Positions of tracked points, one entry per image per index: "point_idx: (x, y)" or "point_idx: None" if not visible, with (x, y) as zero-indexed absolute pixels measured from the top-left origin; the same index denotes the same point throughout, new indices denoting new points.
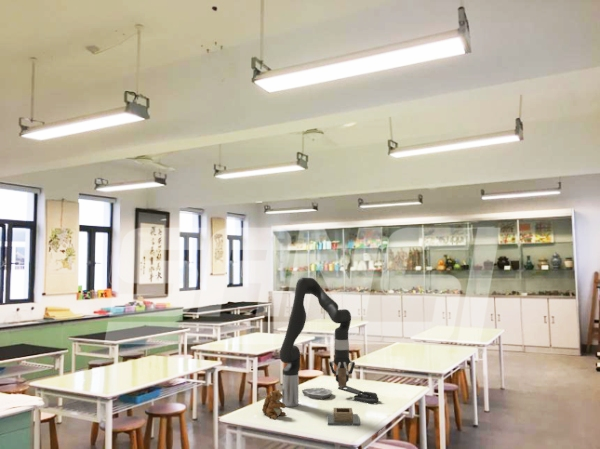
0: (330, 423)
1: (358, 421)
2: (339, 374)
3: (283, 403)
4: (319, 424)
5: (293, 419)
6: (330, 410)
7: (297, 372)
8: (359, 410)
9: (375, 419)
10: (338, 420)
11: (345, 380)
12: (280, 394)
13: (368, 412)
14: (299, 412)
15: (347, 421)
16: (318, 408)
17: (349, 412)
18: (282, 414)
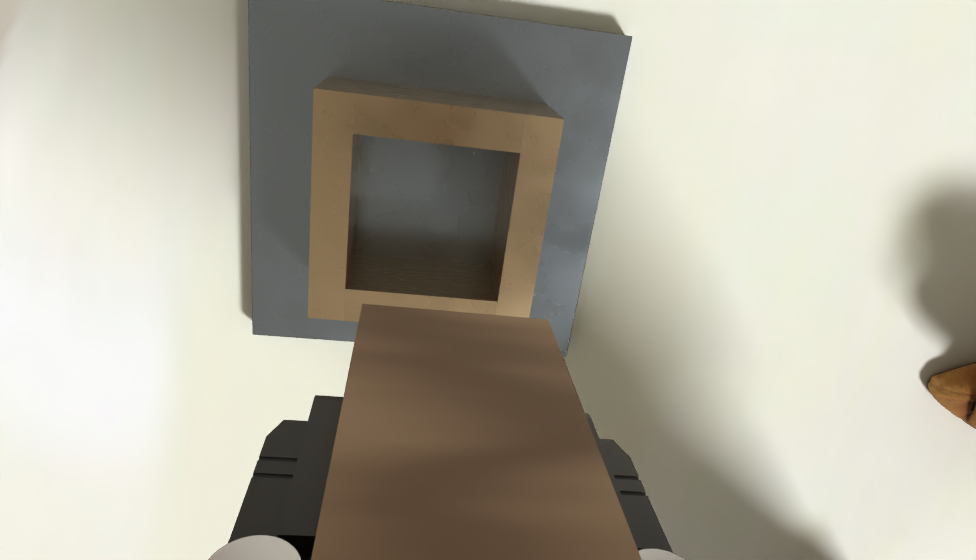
0: (601, 33)
1: (262, 62)
2: (585, 520)
3: None
4: (707, 71)
5: (903, 256)
6: None
7: None
8: (224, 487)
9: (57, 200)
10: (498, 99)
11: (369, 379)
12: None
13: (134, 430)
14: (785, 446)
15: (395, 74)
16: None
17: (357, 120)
18: (967, 369)
